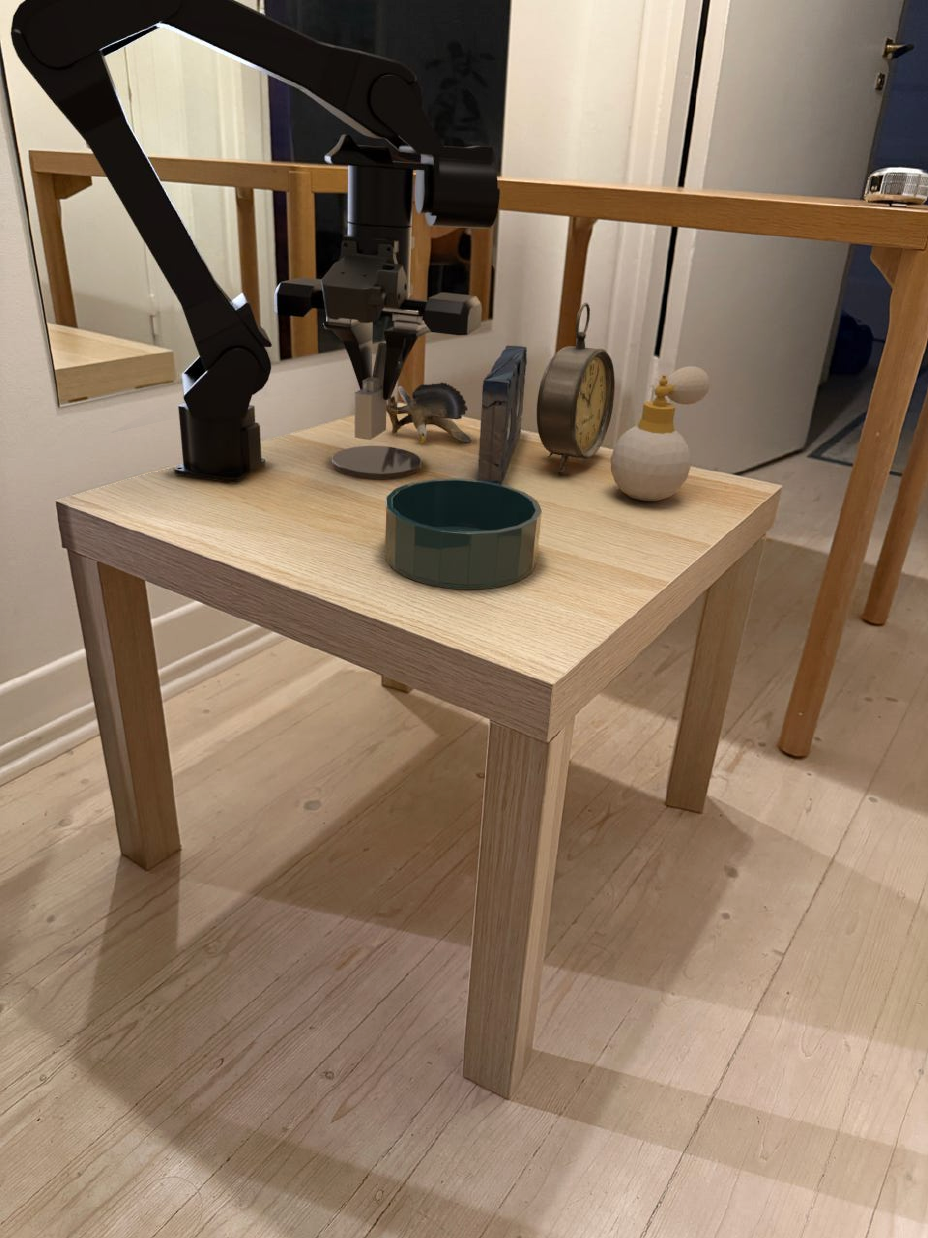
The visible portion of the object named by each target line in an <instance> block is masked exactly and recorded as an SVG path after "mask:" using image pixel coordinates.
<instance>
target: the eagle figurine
mask: <svg viewBox="0 0 928 1238" xmlns="http://www.w3.org/2000/svg"><path fill="white" fill-rule="evenodd" d="M397 391H398V393H399V395H400V397H401V399H402V400H403V401H404V403H405V404H406V405H402V406H398V405H399V404H398V402H397V401H396V397H395V396H394V395H392V396H391V398H390V399H388V400H387V405H386V413H387V414H388V416H389V420H390V422H391V425H392V427H391V428H392V429H391V433H392V435H394V434H397V433H398V431H399V430H400V429H401V428H402V427H403V426H405V425H408V424H412V423H413V426H414V428H415V429H416V431H417V433H418V436H419V439H420V444H422V445H423V444H425V441H426V439H427V436H428V432H427V426H428V425H430V426H431V425H432V426H435V427H438V428H440V429H441V430H443V431H445V432H447V433H448V434H450V435H451V436H452V437H454V439H456V440H457V441H459V442H461V443H472V441H473V440H472V439H471V436H469V435H467V434H466V433H465V432H464V431H463V430H462V429H461V428H460V427H459V426H458V425H457V424H456V423H455V421H454V420H461V419H462V418H463V415H466V412H467V411H468V406H467V405H466V404H467V403H466V402H467V401H466V400H465V399H464V395H463V394H461V391H459V390H457V388H455V387H454V386H453V385H451V384H449V383H446V382H437V383H431V384H430V383H429V384H427V383H425V384H423V383H422V384H419V386H417V387H416V388H415V389H414V390H413V391H412V392H411V393H412V394H411V396H410V394H409V393H408V392H407V391H406V389H405V388H404V387H403V386H401V385H400V386H398V387H397ZM404 414H406V415H405V416H404V417H402V418H401V419H399V417H398V415H404Z"/></svg>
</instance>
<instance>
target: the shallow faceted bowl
mask: <svg viewBox="0 0 928 1238" xmlns="http://www.w3.org/2000/svg"><path fill="white" fill-rule="evenodd" d="M542 513H543V509H542V508H541V505H540V503H539V501H538V500H537V499H535V498H534V497H532V496H531V495H530V494H528V493H527V492H525V491H523V490H519V489H517V488H514V487H513V486H509V485H507V484H503V483H502V484H499V483H493V482H488V481H484V480H483V481H482V480H478V479H473V478H460V477H452V478H450V477H449V478H448V477H447V478H429V479H424V480H419V481H418V480H417V481H413V482H409V483H407V484H404V485H401V486H399V487H396V488H394V489H393V490H392V491H391V492H390V493H389V494H388V495H387V496H386V497H385V521H384V522H385V523H384V524H385V525H384V558H385V561H386V563H387V564H388V566H389V567H391V569H392V570H394V571H395V572H396V573H398V574H400V575H401V576H403V577H405V578H407V579H410V580H411V581H413V582H417V583H420V584H424V585H428V586H433V587H437V588H443V589H449V590H451V589H453V590H485V589H496V588H500V587H501V588H502V587H505V586H509V585H512V584H515V583H517V582H519V581H521V580H523V579H525V578H527V577H528V576H529V575H530V574H531V573H532V572H533V571H534V569H535V566H536V563H537V562H536V561H537V559H538V551H539V542H540V533H541V522H542Z"/></svg>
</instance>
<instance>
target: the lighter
mask: <svg viewBox="0 0 928 1238" xmlns="http://www.w3.org/2000/svg"><path fill="white" fill-rule="evenodd" d="M385 358H386V342H378V345H377V349H376V355H375V360H374V366H373V369H372V377H369V378H367V379H365V380H363V389H361V390H360V389H359V390H357V391H355V392H354V434H353V435H354V438H355V439H360V440H366V441H371V440H373V439H375V438H376V437H378V436H379V435H381V434H382V433H384V432H385V431H387V411H386V405H388V400H384V398H383V379H384V368H385Z"/></svg>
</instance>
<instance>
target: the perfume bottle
mask: <svg viewBox="0 0 928 1238" xmlns="http://www.w3.org/2000/svg"><path fill="white" fill-rule="evenodd" d="M658 383H659V384H658V385H657V386H656V387H655V388H654V390H653V391H654V395H655V398H653V400H651V401H645V402H644V403H643V406H642V414H641V418H640V420H639V422H638V423H637V425H635V426H633V427H631V428H630V429H627V430H626V431H625V432H624V433H623V434H622V435H621V436H620V437H619V439H618V440H617V441H616V442H615V445H614V446H613V449H612V453H611V456H610V472H611V474H612V477H613V481H614V483H615V484H616V485H617V487H618V488H619V489H620V490H621V492H622V493H624V494H626V496H629V497H630V498H632V499H635V500H639V501H641V502H642V501H643V502H659V501H662V500H666V499H669V498H671V497H672V496H673V495H674V494H676V493H677V492H679V490H681V488H682V487H683V485H684V484H685V482H686V481H687V480H688V476H689V474H690V471H691V468H692V467H691V466H692V465H691V463H692V460H691V451H690V448H689V446H688V444H687V441H686V440H685V437H683V436H682V435H681V434H680V433H679V432H678V431H677V430H676V429H675V425H674V420H675V419H674V418H675V411H676V406H675V405H674V404H672V403H669V402H668V400H667V398H668V399H669V400H670V401H672V402H674V403H676V404H679V405H687V406H688V405H692V404H696V403H698V402H700V401H701V400H703V399H704V398H705V397H706V395H707V394H708V392H709V390H710V378H709V376H708V374H707V373H706V371H704V370H703V369H702V368H700V367H698V366H694V365H693V366H692V365H688V366H684V367H681V368H679V369H676V370H675V371H674V372H672V373H671V374H670V375H669V376H668V378H667V375H666V374H662V376H661V378H660V379H659V380H658ZM666 397H667V398H666Z"/></svg>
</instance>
